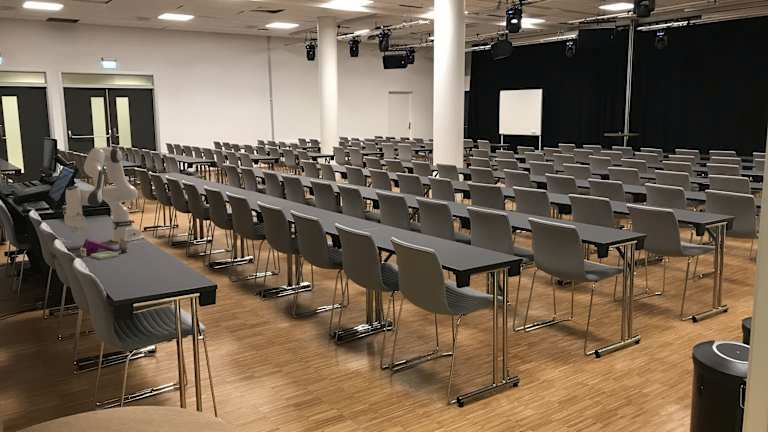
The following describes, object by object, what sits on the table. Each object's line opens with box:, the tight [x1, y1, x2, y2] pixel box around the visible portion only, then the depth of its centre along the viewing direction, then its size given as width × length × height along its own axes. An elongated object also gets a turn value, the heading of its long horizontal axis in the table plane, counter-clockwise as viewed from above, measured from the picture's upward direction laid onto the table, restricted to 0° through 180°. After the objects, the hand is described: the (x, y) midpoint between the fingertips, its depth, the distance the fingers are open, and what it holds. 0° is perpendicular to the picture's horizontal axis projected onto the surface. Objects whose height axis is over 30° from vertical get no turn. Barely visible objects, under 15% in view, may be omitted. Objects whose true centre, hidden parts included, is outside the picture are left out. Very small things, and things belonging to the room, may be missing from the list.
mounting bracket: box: [82, 238, 115, 256], centre depth 420 cm, size 9×8×18 cm
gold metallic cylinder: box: [118, 238, 126, 250], centre depth 432 cm, size 5×5×7 cm
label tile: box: [80, 247, 88, 257], centre depth 410 cm, size 1×6×5 cm, turn 52°
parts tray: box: [90, 250, 120, 261], centre depth 409 cm, size 12×12×2 cm
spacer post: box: [120, 239, 128, 254], centre depth 420 cm, size 4×4×9 cm
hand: (76, 233), depth 405 cm, fingers open, 8 cm apart
